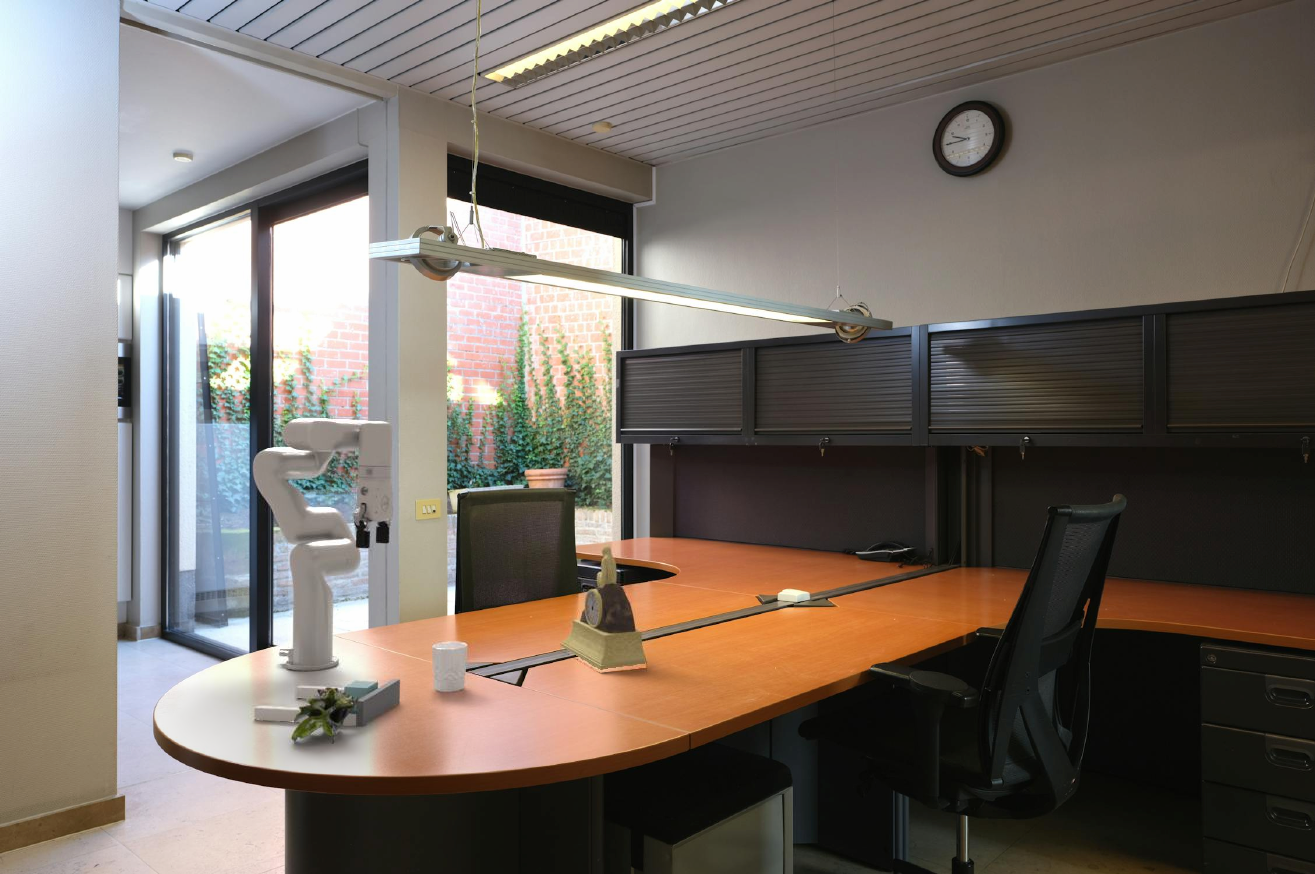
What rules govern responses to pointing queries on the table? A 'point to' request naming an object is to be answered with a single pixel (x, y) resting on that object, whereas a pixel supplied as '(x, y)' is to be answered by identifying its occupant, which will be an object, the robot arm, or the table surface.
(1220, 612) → the table surface
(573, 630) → the decorative clock
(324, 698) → the passion flower
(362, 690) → the block
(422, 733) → the table surface
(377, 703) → the guide channel
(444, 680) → the white cup
